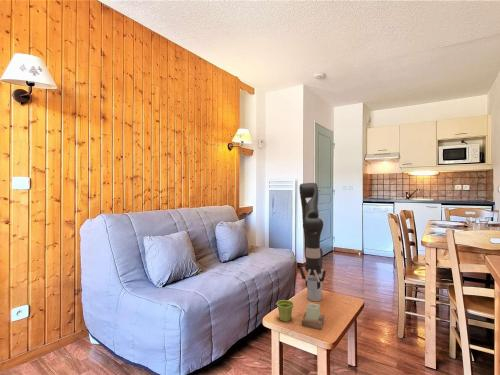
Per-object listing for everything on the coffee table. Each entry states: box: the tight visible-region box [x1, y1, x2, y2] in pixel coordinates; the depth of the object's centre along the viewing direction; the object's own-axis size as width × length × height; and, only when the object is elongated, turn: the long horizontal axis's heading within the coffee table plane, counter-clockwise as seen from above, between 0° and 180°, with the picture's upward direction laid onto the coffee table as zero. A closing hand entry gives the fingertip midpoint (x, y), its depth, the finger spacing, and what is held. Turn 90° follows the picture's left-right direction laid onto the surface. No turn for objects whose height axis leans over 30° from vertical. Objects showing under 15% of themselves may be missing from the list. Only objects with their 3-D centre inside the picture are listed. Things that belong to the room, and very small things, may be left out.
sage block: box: [305, 302, 321, 321], centre depth 149 cm, size 6×6×6 cm
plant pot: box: [276, 299, 295, 323], centre depth 154 cm, size 9×9×9 cm
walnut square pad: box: [301, 312, 325, 331], centre depth 149 cm, size 10×10×3 cm
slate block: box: [306, 277, 318, 291], centre depth 149 cm, size 5×5×5 cm
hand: (312, 287), depth 149 cm, fingers closed on slate block, 5 cm apart
